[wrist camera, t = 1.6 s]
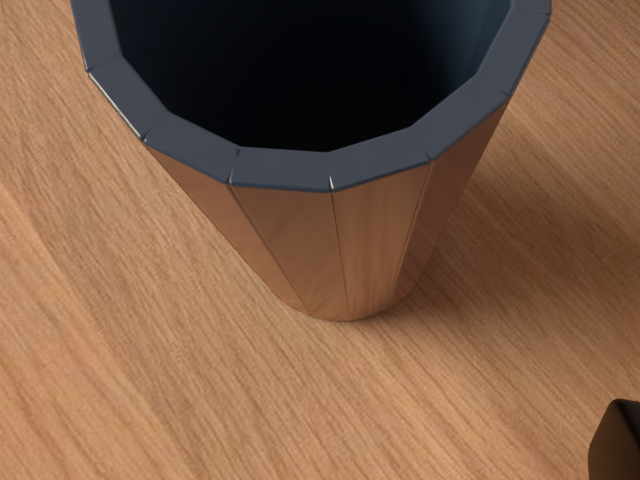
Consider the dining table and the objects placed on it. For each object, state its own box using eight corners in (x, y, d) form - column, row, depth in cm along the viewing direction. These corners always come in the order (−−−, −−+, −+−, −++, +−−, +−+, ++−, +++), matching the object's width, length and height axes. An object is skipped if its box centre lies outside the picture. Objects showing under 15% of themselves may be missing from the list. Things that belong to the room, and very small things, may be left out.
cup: (457, 289, 19) (637, 98, 7) (278, 345, 19) (125, 256, 7) (397, 126, 21) (452, -279, 8) (231, 177, 21) (35, -153, 8)
